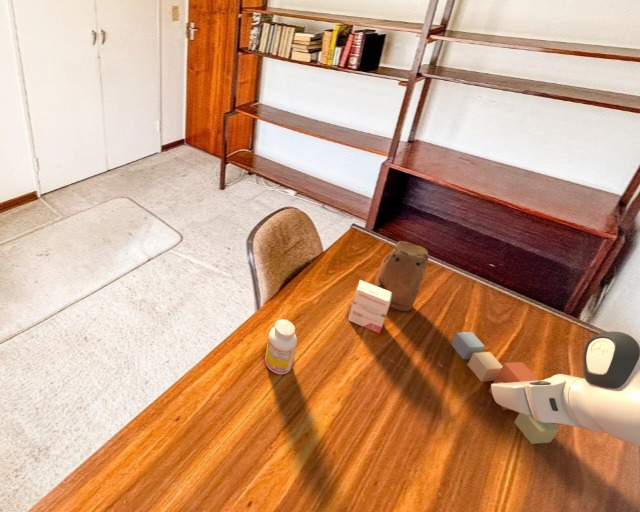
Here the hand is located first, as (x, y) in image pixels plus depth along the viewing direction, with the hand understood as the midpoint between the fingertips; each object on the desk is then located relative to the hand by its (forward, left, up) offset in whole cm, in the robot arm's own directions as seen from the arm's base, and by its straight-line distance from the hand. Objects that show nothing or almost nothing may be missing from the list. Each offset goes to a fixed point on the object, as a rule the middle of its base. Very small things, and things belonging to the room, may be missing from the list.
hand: (512, 384), depth 90 cm
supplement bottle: (+51, -13, -5) cm, 53 cm away
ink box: (+22, -24, -5) cm, 33 cm away
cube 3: (0, -13, -5) cm, 14 cm away
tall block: (0, 0, -5) cm, 5 cm away
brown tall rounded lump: (+10, -31, -5) cm, 33 cm away
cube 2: (0, -7, -5) cm, 9 cm away
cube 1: (0, +7, -5) cm, 9 cm away
